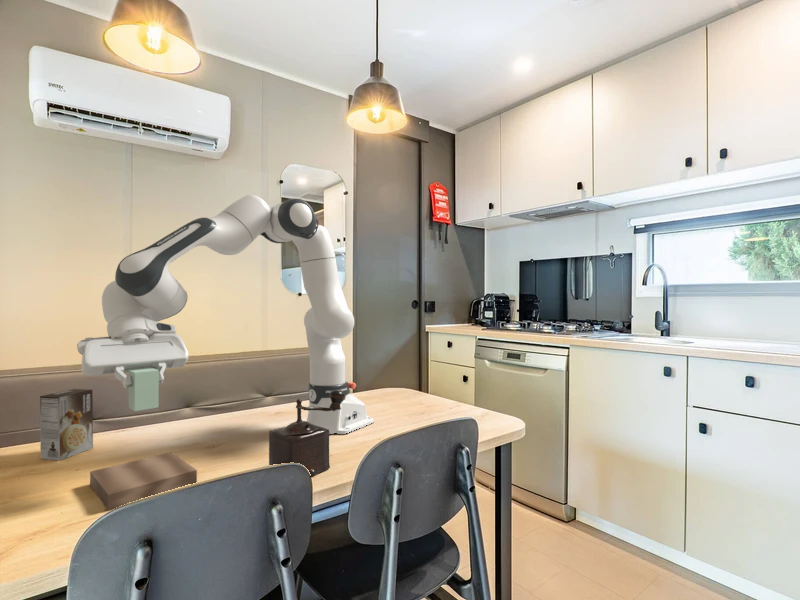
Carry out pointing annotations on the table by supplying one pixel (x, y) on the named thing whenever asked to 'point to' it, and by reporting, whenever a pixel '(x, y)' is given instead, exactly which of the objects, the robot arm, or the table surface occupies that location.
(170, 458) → the walnut platform
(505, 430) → the table surface
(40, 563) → the table surface
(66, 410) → the coffee box
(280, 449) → the manual coffee grinder
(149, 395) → the sage block
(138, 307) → the robot arm
